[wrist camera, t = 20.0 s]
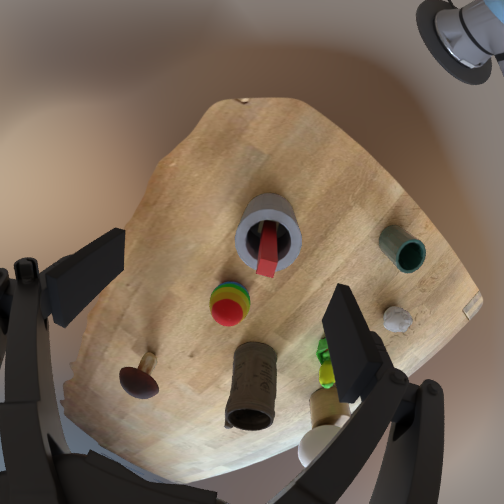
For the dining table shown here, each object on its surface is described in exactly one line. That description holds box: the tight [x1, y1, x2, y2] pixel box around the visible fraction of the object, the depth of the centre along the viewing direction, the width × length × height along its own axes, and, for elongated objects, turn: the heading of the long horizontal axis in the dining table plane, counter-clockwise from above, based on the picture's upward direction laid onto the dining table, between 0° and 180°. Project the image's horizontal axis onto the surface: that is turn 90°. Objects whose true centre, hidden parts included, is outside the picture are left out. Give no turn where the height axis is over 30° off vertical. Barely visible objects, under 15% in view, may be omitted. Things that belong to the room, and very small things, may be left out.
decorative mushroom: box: [119, 353, 159, 399], centre depth 60 cm, size 11×11×15 cm
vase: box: [235, 193, 302, 272], centre depth 45 cm, size 9×9×14 cm
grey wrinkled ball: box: [383, 306, 413, 332], centre depth 54 cm, size 6×7×7 cm
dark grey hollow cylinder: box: [224, 342, 277, 431], centre depth 56 cm, size 15×11×20 cm
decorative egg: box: [209, 281, 250, 326], centre depth 53 cm, size 8×8×10 cm
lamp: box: [298, 387, 351, 468], centre depth 58 cm, size 15×14×25 cm
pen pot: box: [379, 225, 426, 273], centre depth 47 cm, size 7×7×9 cm
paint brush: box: [256, 220, 280, 278], centre depth 41 cm, size 3×3×22 cm
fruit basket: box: [316, 338, 335, 388], centre depth 57 cm, size 11×9×11 cm
